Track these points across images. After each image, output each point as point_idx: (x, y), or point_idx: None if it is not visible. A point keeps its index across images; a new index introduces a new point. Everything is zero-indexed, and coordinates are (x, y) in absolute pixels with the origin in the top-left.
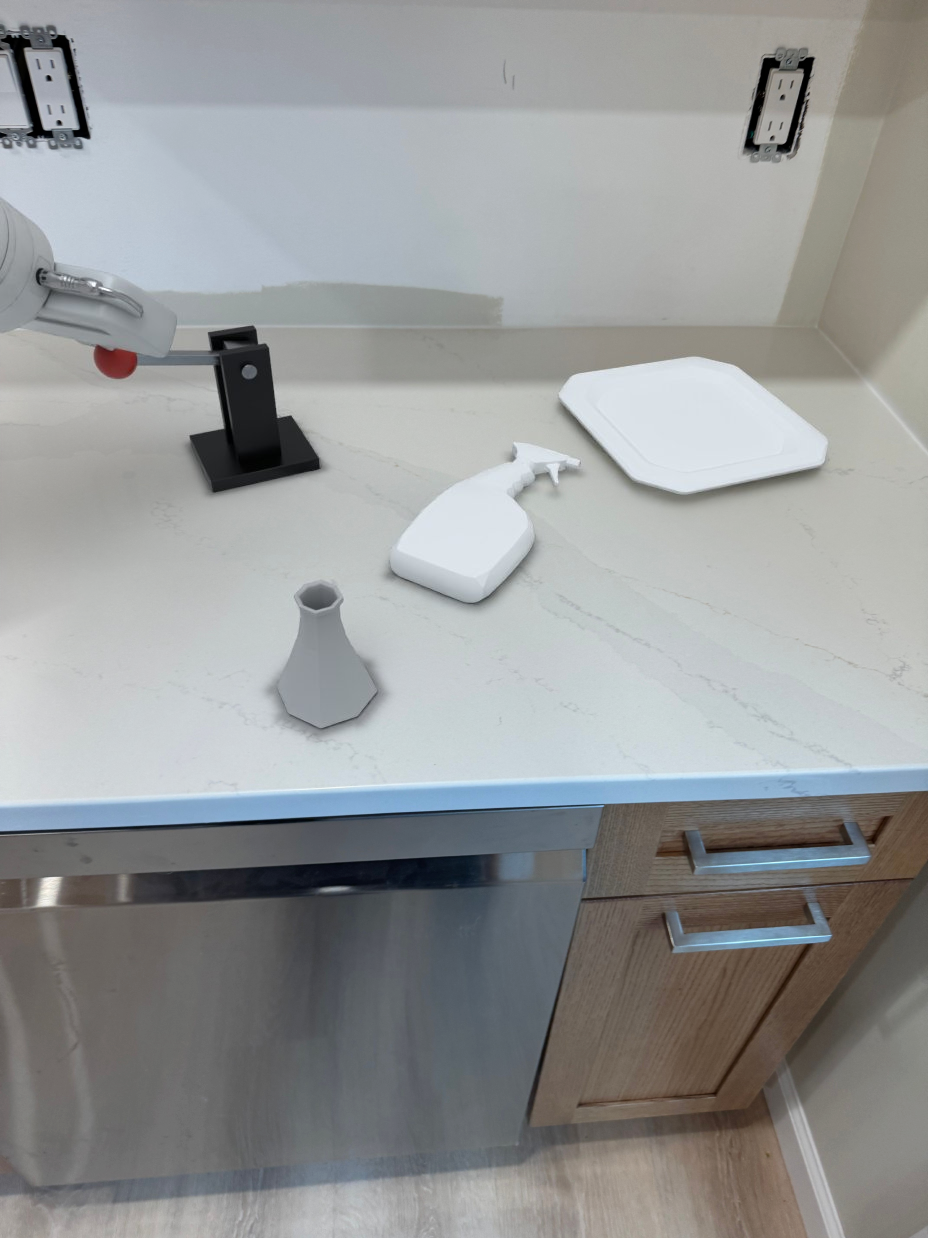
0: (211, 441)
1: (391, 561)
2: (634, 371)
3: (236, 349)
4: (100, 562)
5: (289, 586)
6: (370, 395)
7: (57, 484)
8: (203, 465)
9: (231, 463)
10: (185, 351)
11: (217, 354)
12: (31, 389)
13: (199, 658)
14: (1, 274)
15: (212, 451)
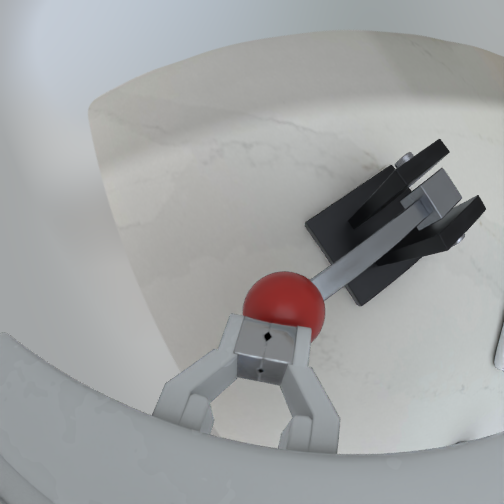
0: (335, 230)
1: (499, 368)
2: None
3: (457, 224)
4: (288, 421)
5: (437, 402)
6: (423, 115)
7: (197, 321)
8: None
9: (370, 268)
10: (382, 235)
11: (420, 219)
12: (115, 170)
13: None
14: None
15: (343, 249)
